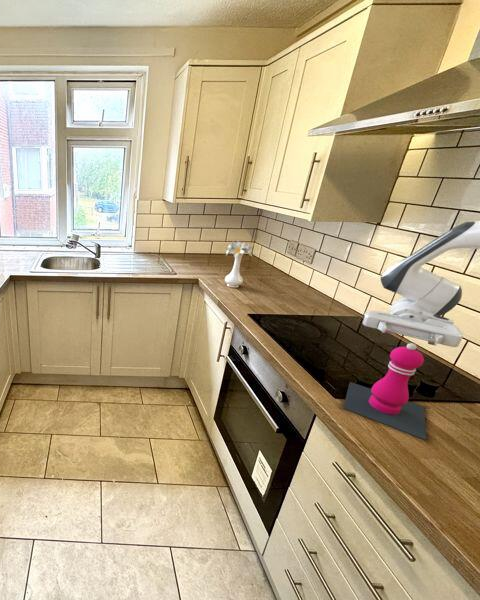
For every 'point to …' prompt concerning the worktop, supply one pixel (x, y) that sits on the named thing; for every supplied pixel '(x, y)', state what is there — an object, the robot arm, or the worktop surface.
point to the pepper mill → (396, 380)
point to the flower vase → (236, 262)
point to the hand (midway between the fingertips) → (408, 336)
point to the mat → (405, 420)
